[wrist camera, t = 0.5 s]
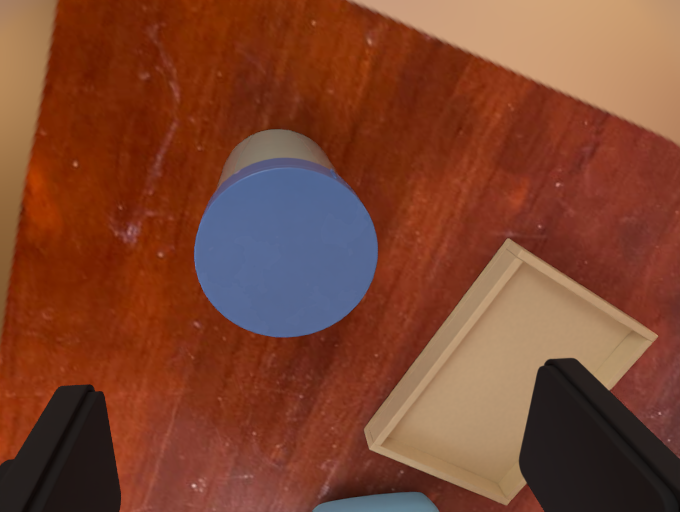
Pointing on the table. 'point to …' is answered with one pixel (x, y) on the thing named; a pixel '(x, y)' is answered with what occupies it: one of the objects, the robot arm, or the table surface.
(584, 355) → the tray
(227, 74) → the table surface
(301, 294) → the lid
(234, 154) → the jam jar
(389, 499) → the teapot
